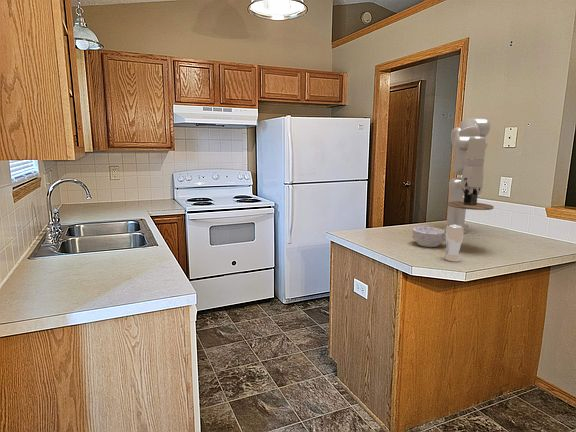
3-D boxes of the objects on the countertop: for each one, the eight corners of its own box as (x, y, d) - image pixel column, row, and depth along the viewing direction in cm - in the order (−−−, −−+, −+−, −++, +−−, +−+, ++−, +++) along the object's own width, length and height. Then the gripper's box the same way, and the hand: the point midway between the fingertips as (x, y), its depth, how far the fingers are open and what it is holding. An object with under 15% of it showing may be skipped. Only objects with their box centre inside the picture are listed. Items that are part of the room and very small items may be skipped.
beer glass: (452, 262, 164) (456, 228, 161) (439, 258, 170) (443, 225, 167) (463, 260, 167) (467, 227, 164) (450, 256, 173) (454, 223, 170)
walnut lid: (465, 202, 196) (466, 190, 195) (502, 208, 179) (504, 196, 178) (438, 204, 187) (439, 192, 186) (474, 211, 170) (476, 198, 169)
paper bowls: (430, 250, 182) (431, 234, 181) (405, 243, 195) (406, 228, 194) (450, 246, 190) (452, 231, 189) (425, 240, 203) (426, 225, 202)
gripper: (478, 163, 186) (474, 200, 190) (455, 163, 178) (451, 202, 182) (493, 163, 180) (488, 202, 183) (470, 164, 172) (465, 204, 175)
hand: (470, 201), depth 183 cm, fingers closed on walnut lid, 4 cm apart
